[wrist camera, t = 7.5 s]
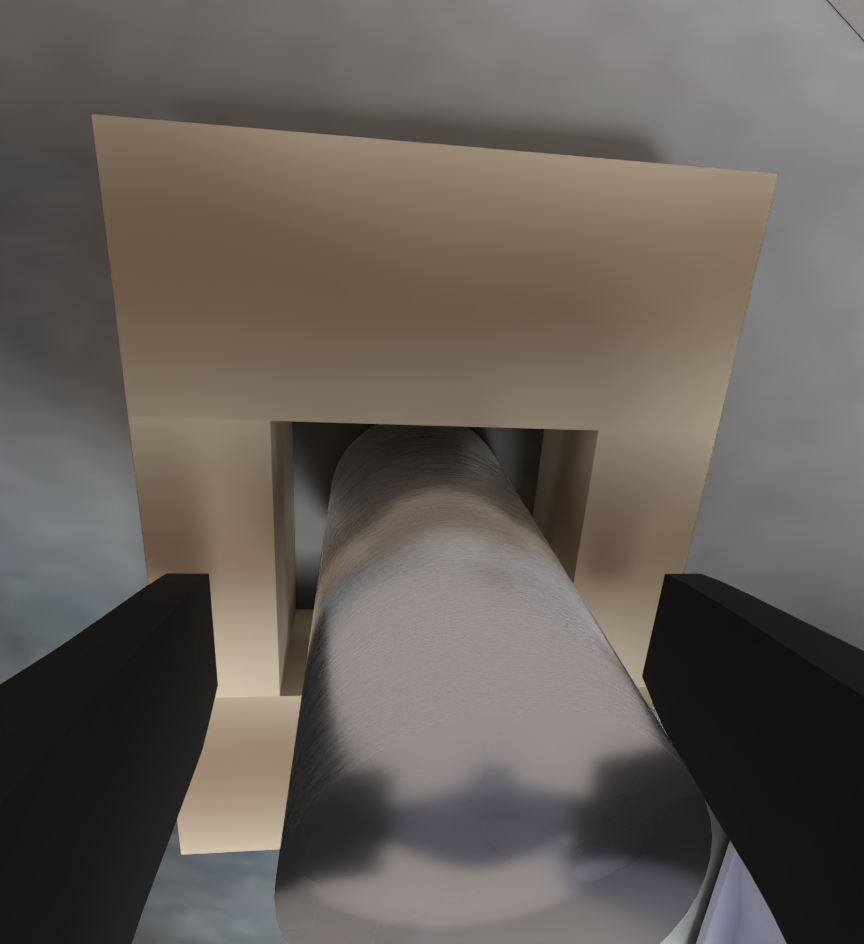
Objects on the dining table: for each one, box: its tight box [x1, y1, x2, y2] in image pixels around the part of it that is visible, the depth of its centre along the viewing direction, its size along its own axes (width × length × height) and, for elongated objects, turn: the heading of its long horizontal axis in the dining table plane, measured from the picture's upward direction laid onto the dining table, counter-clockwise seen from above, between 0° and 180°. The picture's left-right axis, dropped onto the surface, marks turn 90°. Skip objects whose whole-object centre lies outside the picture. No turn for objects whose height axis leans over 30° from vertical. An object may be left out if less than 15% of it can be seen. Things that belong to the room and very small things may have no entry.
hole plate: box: [91, 114, 778, 855], centre depth 12 cm, size 14×10×3 cm
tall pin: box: [274, 424, 712, 944], centre depth 10 cm, size 4×4×9 cm
